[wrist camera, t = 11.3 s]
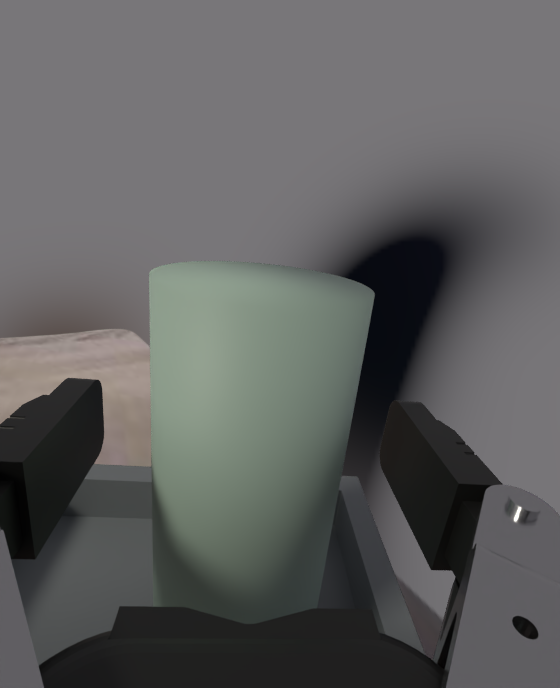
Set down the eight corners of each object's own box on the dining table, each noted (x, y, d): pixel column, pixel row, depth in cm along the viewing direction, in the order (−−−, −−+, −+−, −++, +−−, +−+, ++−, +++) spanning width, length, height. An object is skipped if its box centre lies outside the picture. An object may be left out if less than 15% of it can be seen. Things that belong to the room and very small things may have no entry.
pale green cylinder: (133, 737, 10) (114, 293, 6) (171, 570, 15) (174, 255, 11) (318, 733, 11) (410, 318, 7) (299, 573, 15) (346, 271, 12)
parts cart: (-252, 1109, 8) (-426, 963, 6) (40, 586, 20) (23, 460, 17) (426, 1043, 10) (520, 904, 7) (333, 591, 21) (357, 476, 18)
